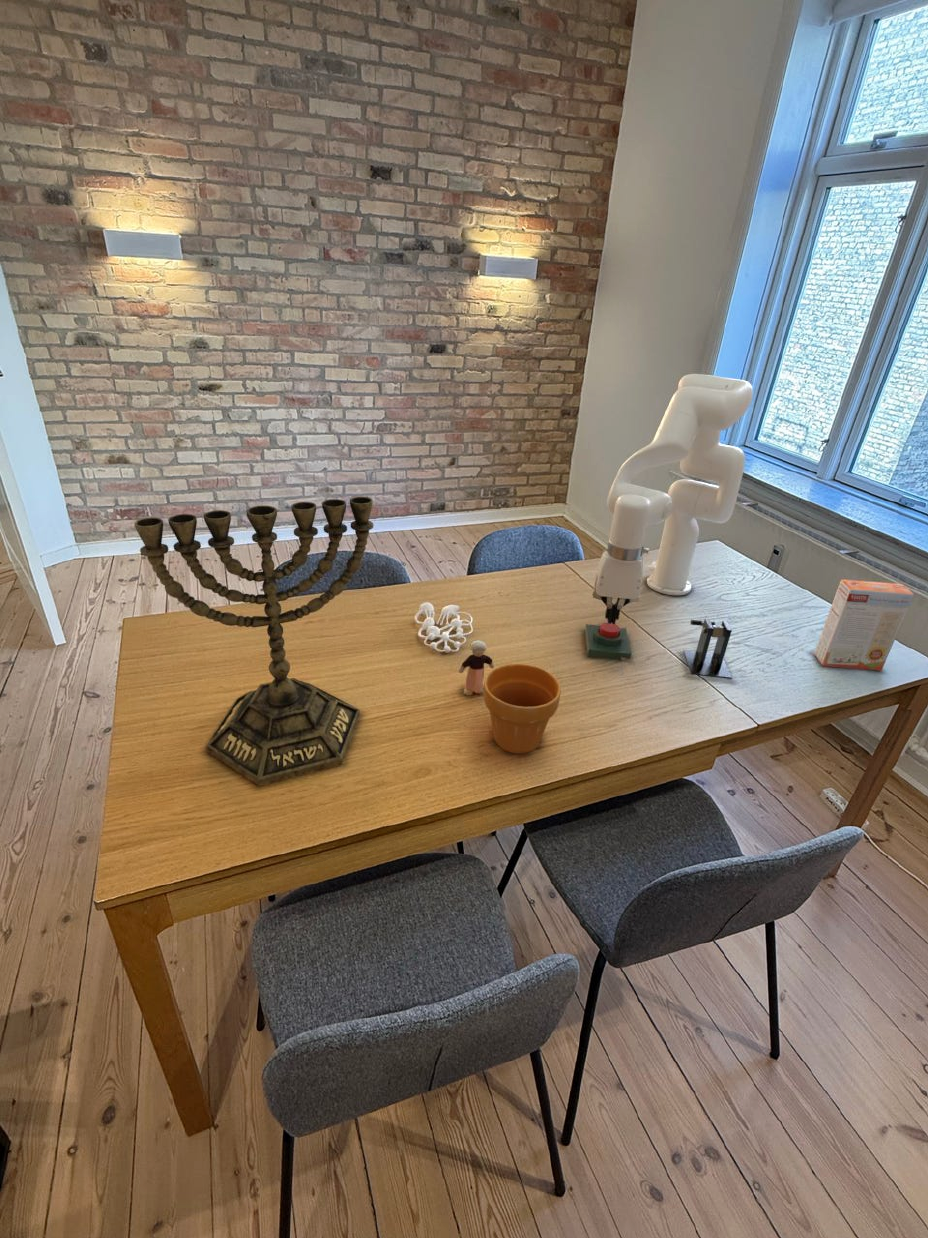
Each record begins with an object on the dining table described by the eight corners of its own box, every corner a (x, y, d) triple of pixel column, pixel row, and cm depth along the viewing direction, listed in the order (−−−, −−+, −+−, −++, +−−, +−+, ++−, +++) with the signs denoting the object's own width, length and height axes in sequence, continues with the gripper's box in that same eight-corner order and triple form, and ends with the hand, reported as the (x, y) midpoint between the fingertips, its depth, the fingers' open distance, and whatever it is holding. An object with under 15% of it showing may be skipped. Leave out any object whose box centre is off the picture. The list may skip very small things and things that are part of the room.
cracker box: (870, 658, 158) (903, 582, 147) (881, 672, 152) (917, 594, 142) (812, 653, 158) (840, 577, 148) (821, 666, 153) (852, 589, 143)
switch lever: (689, 626, 157) (691, 616, 157) (712, 628, 157) (714, 619, 156) (704, 636, 144) (706, 626, 144) (729, 638, 144) (731, 628, 144)
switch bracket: (682, 654, 155) (693, 611, 149) (720, 658, 154) (733, 615, 149) (690, 677, 146) (702, 633, 141) (730, 682, 146) (744, 637, 140)
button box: (584, 631, 162) (587, 618, 160) (624, 635, 162) (627, 621, 160) (587, 657, 152) (589, 642, 150) (629, 661, 151) (632, 647, 149)
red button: (598, 627, 157) (599, 621, 156) (617, 629, 157) (618, 623, 156) (600, 637, 153) (601, 631, 152) (619, 639, 153) (620, 633, 152)
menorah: (191, 804, 106) (135, 556, 84) (180, 716, 126) (132, 495, 104) (398, 749, 120) (397, 524, 98) (359, 677, 140) (351, 476, 118)
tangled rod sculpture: (474, 659, 150) (477, 645, 148) (413, 654, 149) (414, 639, 147) (469, 617, 167) (472, 603, 165) (414, 611, 165) (416, 598, 163)
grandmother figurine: (464, 700, 135) (467, 649, 129) (455, 690, 138) (458, 640, 131) (495, 691, 138) (500, 641, 132) (486, 682, 141) (490, 632, 135)
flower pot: (468, 724, 128) (472, 670, 121) (530, 709, 133) (537, 657, 127) (499, 771, 117) (505, 715, 110) (566, 753, 122) (575, 698, 115)
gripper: (655, 547, 147) (640, 616, 156) (590, 541, 148) (578, 610, 157) (660, 560, 140) (644, 632, 149) (592, 554, 141) (580, 625, 150)
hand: (610, 621), depth 153 cm, fingers closed
